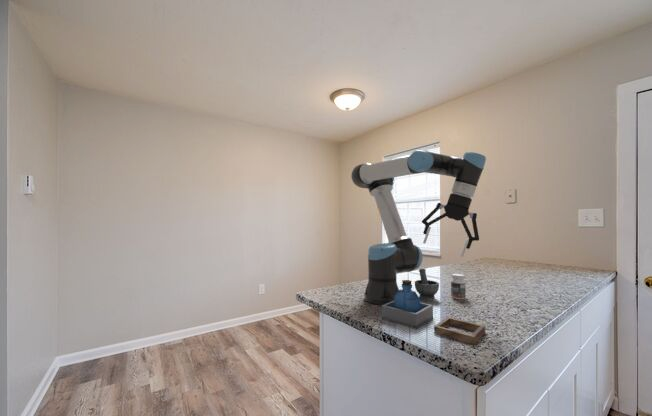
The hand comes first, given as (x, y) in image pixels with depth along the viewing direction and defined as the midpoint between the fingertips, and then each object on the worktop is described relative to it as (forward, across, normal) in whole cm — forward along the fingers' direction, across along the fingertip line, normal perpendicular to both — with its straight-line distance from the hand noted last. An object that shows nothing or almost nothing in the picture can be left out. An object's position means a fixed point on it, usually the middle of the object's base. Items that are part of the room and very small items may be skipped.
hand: (442, 249), depth 104 cm
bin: (+24, -3, -16) cm, 29 cm away
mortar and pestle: (+25, 0, +14) cm, 29 cm away
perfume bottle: (+24, -4, -16) cm, 29 cm away
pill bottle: (+21, +12, +20) cm, 32 cm away
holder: (+19, +12, -21) cm, 31 cm away
